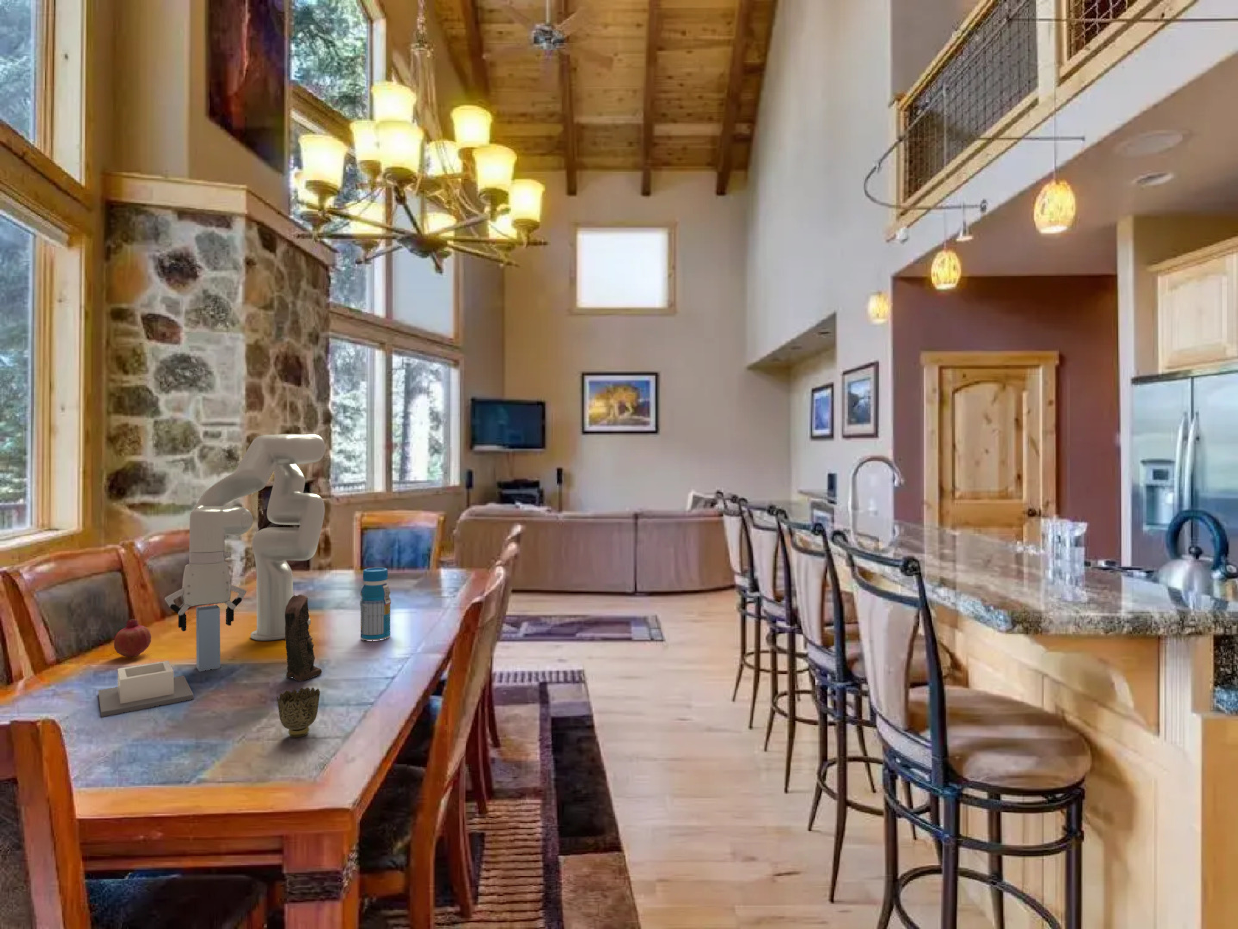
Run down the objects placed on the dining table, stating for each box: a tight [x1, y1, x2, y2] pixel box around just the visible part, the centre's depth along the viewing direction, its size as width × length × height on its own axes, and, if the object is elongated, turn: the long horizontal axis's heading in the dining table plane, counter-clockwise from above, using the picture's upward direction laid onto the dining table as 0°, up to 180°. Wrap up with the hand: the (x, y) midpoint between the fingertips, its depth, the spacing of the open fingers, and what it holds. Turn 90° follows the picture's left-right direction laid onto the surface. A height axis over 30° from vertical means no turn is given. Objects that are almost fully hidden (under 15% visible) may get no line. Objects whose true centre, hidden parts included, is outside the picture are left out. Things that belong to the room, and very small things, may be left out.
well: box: [97, 660, 194, 718], centre depth 150 cm, size 16×16×6 cm
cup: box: [276, 687, 321, 739], centre depth 130 cm, size 8×7×8 cm
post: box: [195, 604, 221, 673], centre depth 170 cm, size 4×4×15 cm
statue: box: [284, 594, 323, 682], centre depth 163 cm, size 7×7×20 cm
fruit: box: [113, 618, 152, 658], centre depth 178 cm, size 8×8×10 cm
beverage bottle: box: [359, 567, 392, 642], centre depth 197 cm, size 8×8×20 cm
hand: (206, 627), depth 169 cm, fingers open, 9 cm apart
